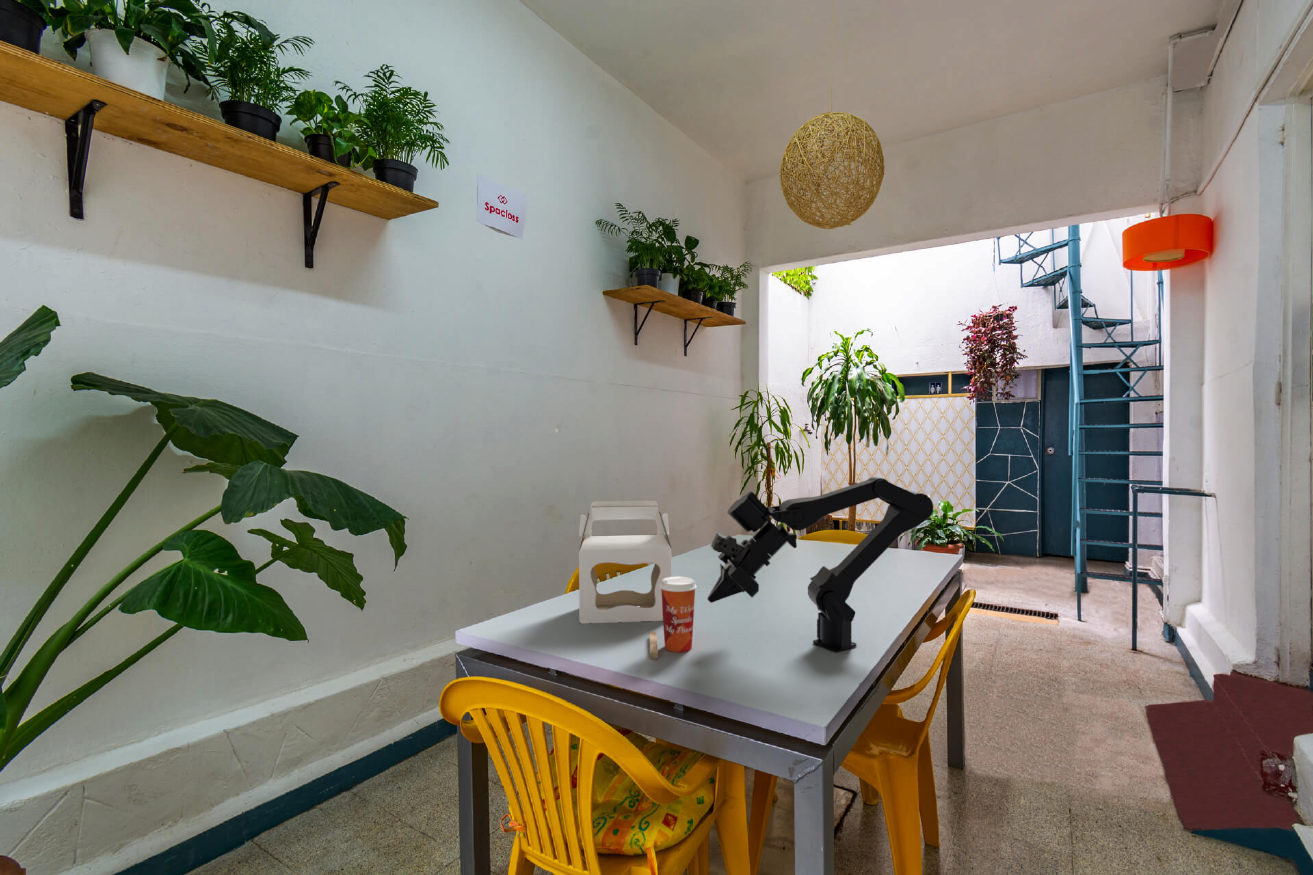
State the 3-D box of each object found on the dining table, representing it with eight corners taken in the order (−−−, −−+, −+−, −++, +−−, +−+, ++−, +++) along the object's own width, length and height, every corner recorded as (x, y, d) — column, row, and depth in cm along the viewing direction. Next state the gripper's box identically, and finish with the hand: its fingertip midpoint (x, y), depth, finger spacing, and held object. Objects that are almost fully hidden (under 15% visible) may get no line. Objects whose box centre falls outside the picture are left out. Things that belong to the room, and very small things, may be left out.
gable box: (578, 624, 140) (577, 504, 140) (580, 607, 153) (579, 498, 153) (672, 621, 142) (672, 503, 142) (666, 605, 155) (666, 497, 155)
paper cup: (665, 655, 120) (665, 586, 120) (655, 642, 128) (655, 577, 127) (702, 651, 122) (702, 583, 122) (690, 639, 130) (690, 574, 129)
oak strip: (649, 637, 131) (649, 632, 131) (656, 637, 131) (656, 632, 131) (650, 658, 119) (650, 652, 119) (657, 658, 119) (657, 652, 119)
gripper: (727, 514, 134) (678, 563, 134) (742, 527, 116) (685, 585, 115) (762, 549, 135) (713, 598, 134) (782, 568, 116) (725, 625, 116)
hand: (709, 600), depth 125 cm, fingers closed
